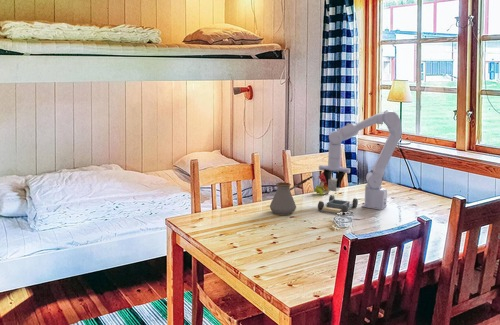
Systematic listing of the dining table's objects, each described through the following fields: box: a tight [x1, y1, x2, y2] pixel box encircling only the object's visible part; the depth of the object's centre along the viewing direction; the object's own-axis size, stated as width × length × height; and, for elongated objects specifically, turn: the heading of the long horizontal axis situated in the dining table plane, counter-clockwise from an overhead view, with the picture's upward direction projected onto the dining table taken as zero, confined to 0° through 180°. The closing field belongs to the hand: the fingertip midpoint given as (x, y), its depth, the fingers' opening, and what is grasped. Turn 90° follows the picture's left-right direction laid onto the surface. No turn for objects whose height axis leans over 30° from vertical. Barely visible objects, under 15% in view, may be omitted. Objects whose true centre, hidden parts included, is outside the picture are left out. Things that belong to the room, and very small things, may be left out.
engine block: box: [328, 177, 340, 192], centre depth 231 cm, size 4×4×5 cm
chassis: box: [317, 194, 359, 215], centre depth 226 cm, size 18×12×4 cm
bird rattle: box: [313, 171, 330, 196], centre depth 252 cm, size 6×11×9 cm
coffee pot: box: [269, 175, 316, 216], centre depth 220 cm, size 21×12×15 cm, turn 117°
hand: (333, 186), depth 232 cm, fingers closed on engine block, 4 cm apart
